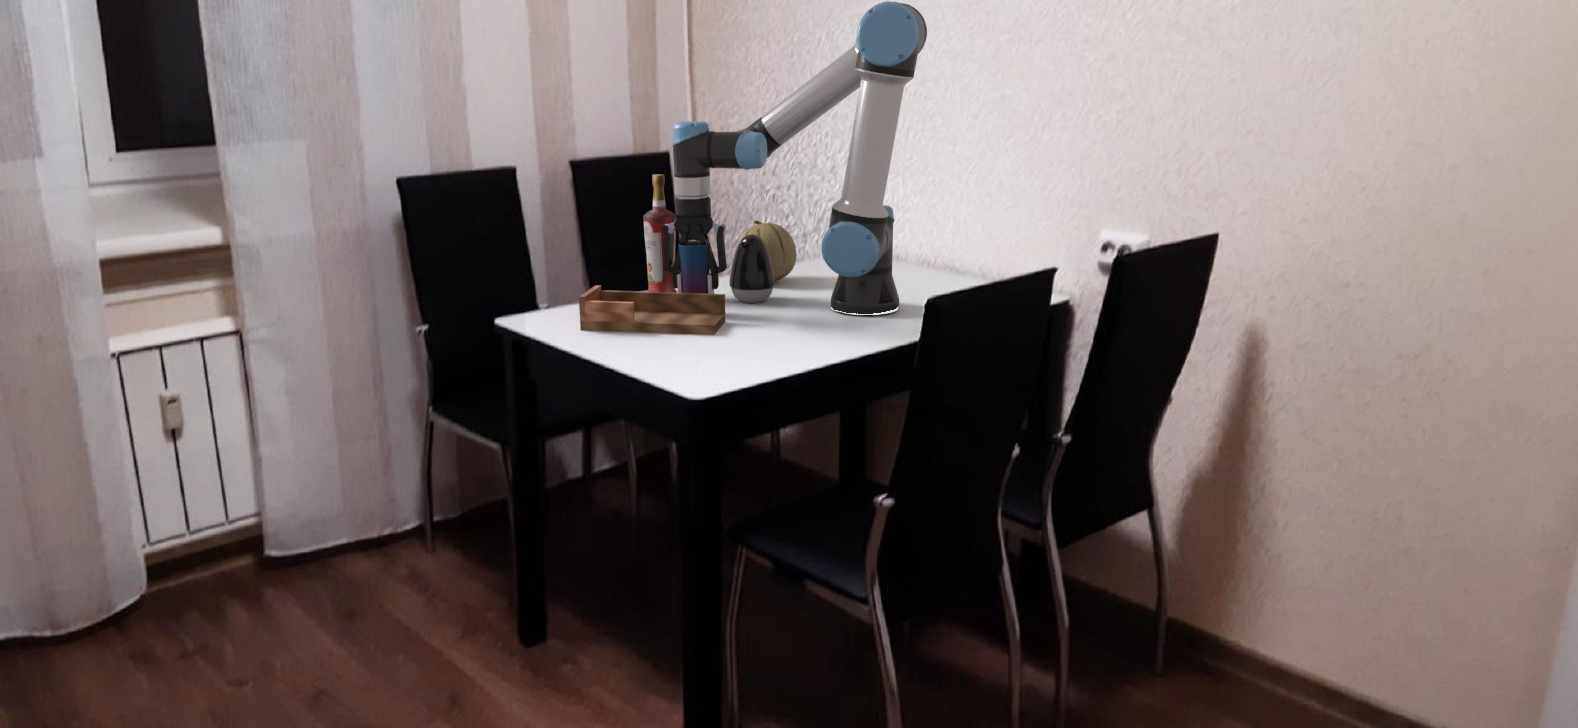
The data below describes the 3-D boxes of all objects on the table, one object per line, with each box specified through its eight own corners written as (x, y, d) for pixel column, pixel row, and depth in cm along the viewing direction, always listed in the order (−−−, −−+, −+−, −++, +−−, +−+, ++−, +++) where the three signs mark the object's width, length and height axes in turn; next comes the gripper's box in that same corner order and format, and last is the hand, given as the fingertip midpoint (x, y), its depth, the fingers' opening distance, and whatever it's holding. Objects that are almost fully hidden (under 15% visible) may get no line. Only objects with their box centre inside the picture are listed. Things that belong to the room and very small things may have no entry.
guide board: (725, 322, 243) (724, 289, 241) (714, 335, 233) (713, 301, 231) (596, 317, 247) (595, 285, 245) (580, 330, 237) (578, 296, 235)
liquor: (639, 297, 266) (635, 174, 258) (666, 292, 270) (663, 172, 262) (657, 302, 260) (653, 178, 253) (684, 298, 265) (681, 175, 257)
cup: (707, 316, 246) (705, 246, 242) (677, 314, 248) (674, 245, 244) (715, 308, 253) (713, 240, 249) (686, 307, 254) (683, 240, 250)
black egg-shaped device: (721, 303, 260) (720, 236, 255) (741, 294, 269) (740, 229, 265) (763, 307, 256) (763, 239, 252) (781, 297, 265) (781, 232, 261)
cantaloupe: (787, 290, 272) (787, 227, 268) (728, 287, 276) (727, 224, 272) (803, 278, 286) (803, 218, 282) (747, 274, 290) (746, 215, 286)
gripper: (740, 194, 246) (742, 300, 252) (653, 193, 248) (658, 298, 255) (733, 199, 238) (736, 308, 245) (644, 198, 241) (649, 306, 247)
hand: (696, 303), depth 250 cm, fingers closed on cup, 6 cm apart
